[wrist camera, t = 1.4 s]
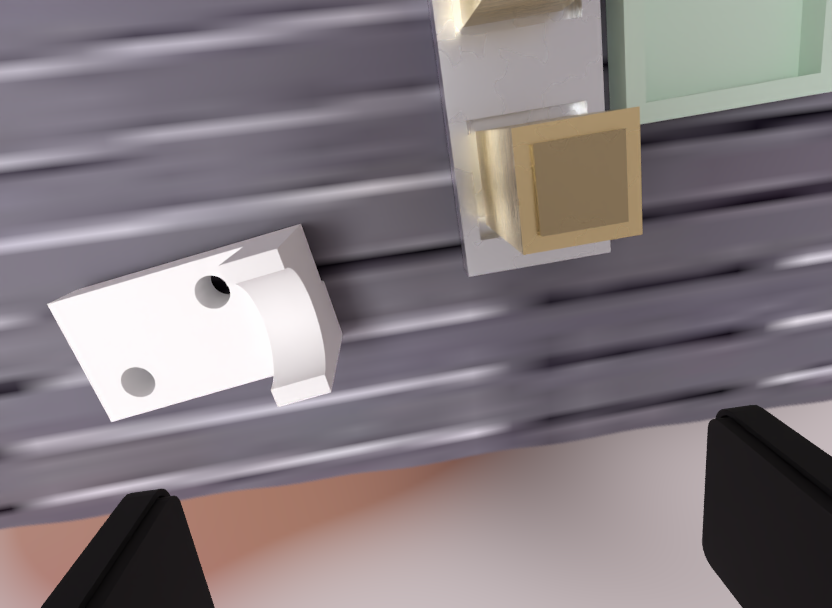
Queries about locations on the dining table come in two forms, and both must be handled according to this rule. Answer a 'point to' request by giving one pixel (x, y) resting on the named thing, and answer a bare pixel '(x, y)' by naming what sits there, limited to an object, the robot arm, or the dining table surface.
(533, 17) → the white flat board
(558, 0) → the cream square knob
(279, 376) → the bracket
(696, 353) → the dining table surface
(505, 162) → the wooden crate cube
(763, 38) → the tray
